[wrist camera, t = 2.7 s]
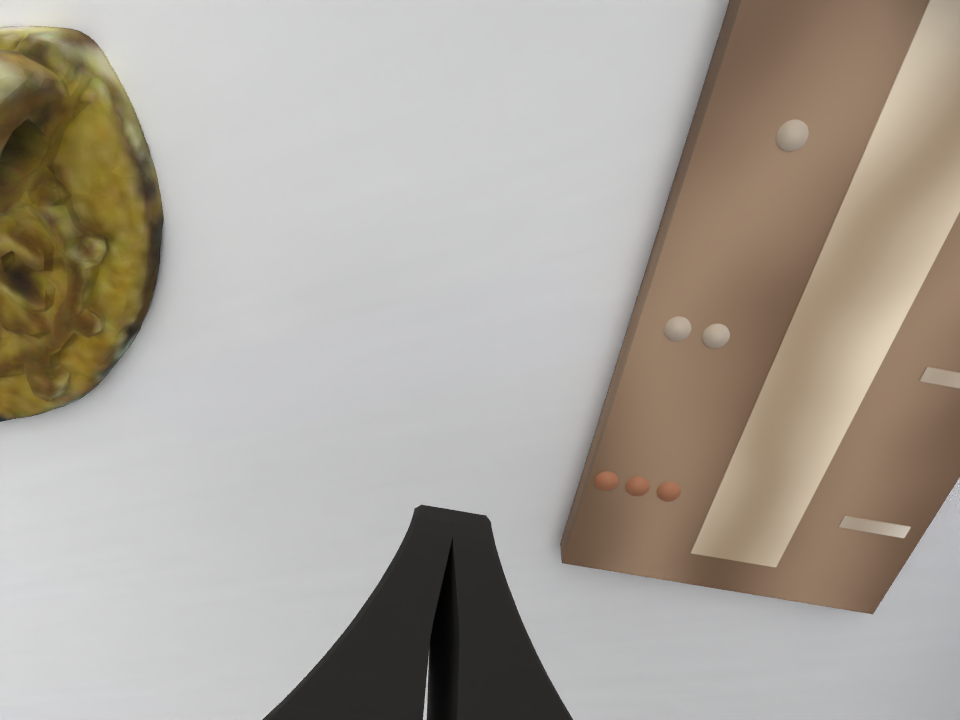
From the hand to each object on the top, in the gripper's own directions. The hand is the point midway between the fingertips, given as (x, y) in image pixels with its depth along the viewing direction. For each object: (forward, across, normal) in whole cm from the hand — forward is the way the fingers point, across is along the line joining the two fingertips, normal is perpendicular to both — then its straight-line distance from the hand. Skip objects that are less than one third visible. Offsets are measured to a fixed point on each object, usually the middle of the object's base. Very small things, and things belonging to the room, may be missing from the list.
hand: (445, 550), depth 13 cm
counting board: (+10, -11, -4) cm, 16 cm away
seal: (+11, +15, +1) cm, 19 cm away
